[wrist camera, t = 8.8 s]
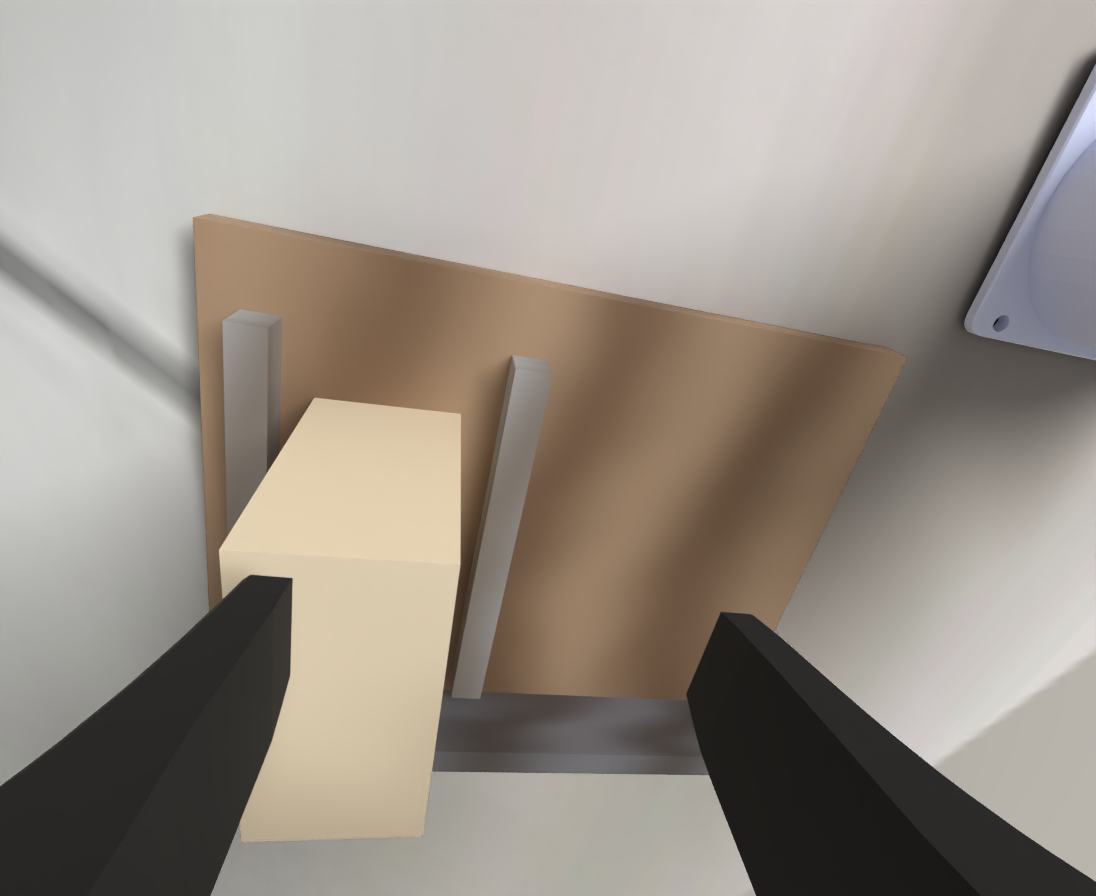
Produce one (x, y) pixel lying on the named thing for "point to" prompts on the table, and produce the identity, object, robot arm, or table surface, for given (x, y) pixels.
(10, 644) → the table surface
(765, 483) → the shelf
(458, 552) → the carton
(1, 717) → the table surface
